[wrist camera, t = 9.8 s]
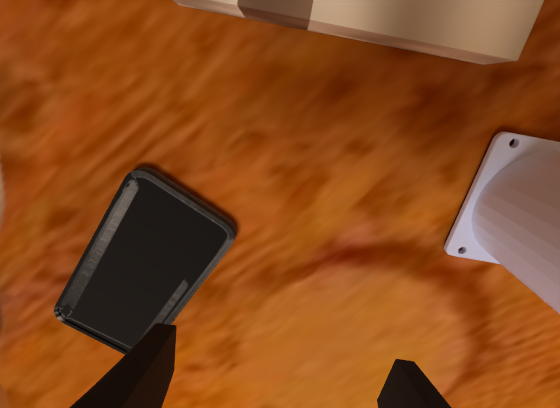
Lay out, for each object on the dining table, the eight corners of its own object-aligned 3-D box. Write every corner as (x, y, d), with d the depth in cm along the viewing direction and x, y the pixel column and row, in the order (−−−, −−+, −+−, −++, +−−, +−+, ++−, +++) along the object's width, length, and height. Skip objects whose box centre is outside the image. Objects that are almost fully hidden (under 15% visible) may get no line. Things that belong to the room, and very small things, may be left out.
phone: (49, 316, 22) (132, 162, 17) (60, 305, 23) (141, 158, 18) (141, 363, 24) (242, 234, 19) (148, 351, 25) (245, 226, 20)
